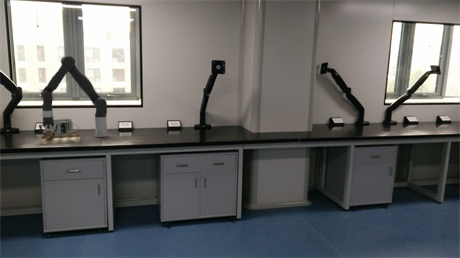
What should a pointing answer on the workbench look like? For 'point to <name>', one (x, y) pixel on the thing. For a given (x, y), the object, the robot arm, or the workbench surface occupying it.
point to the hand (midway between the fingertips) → (49, 137)
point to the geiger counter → (64, 126)
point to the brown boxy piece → (49, 134)
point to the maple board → (61, 139)
